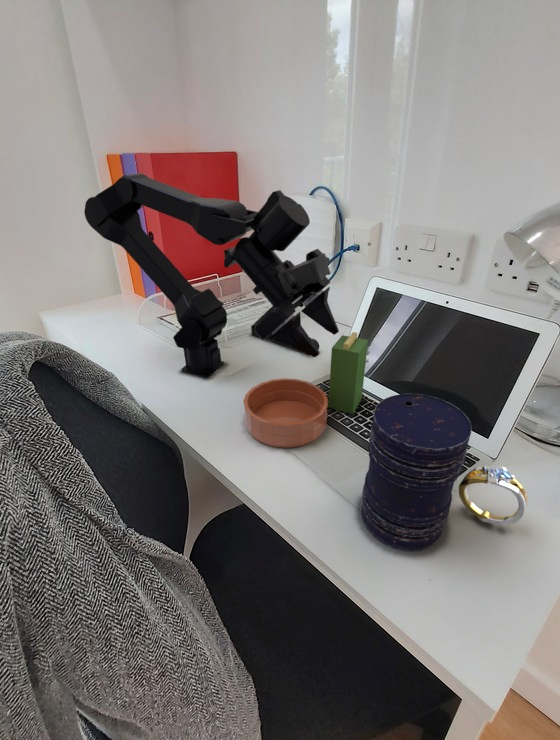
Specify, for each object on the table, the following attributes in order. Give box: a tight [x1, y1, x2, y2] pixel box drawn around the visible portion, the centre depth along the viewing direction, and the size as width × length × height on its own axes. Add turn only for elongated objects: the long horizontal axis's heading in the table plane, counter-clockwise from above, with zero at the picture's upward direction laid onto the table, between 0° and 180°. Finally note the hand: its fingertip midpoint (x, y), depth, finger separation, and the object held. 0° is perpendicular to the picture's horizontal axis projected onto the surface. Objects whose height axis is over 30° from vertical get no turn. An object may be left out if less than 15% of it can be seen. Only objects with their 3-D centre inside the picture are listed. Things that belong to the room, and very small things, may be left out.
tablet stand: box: [250, 323, 320, 356], centre depth 92 cm, size 18×3×3 cm, turn 49°
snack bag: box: [327, 331, 369, 415], centre depth 69 cm, size 4×5×12 cm
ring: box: [458, 464, 529, 526], centre depth 48 cm, size 7×3×8 cm, turn 47°
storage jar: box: [360, 393, 473, 552], centre depth 46 cm, size 10×10×15 cm
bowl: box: [243, 377, 329, 449], centre depth 66 cm, size 13×13×4 cm
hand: (327, 343), depth 68 cm, fingers open, 9 cm apart
